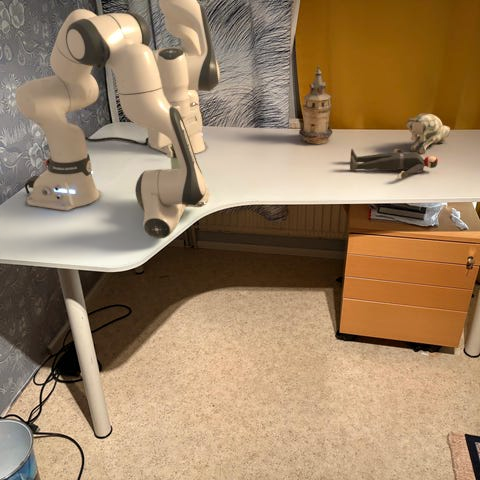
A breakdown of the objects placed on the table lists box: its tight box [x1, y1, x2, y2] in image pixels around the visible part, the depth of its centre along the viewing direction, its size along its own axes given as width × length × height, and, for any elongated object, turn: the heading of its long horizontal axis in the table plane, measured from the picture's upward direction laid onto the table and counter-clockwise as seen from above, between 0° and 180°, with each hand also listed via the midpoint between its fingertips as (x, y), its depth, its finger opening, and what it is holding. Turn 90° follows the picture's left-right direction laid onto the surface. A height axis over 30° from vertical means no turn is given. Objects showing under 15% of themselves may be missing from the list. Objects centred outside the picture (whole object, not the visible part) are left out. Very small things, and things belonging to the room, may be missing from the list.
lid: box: [170, 144, 177, 157], centre depth 162 cm, size 6×6×2 cm
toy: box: [349, 148, 439, 180], centre depth 190 cm, size 26×6×30 cm
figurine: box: [406, 113, 451, 154], centre depth 207 cm, size 10×19×20 cm
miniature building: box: [298, 65, 333, 145], centre depth 213 cm, size 13×14×30 cm
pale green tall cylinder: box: [170, 157, 180, 169], centre depth 166 cm, size 5×5×18 cm
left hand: (181, 184), depth 168 cm, fingers closed on pale green tall cylinder, 5 cm apart
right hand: (178, 153), depth 162 cm, fingers closed on lid, 5 cm apart
